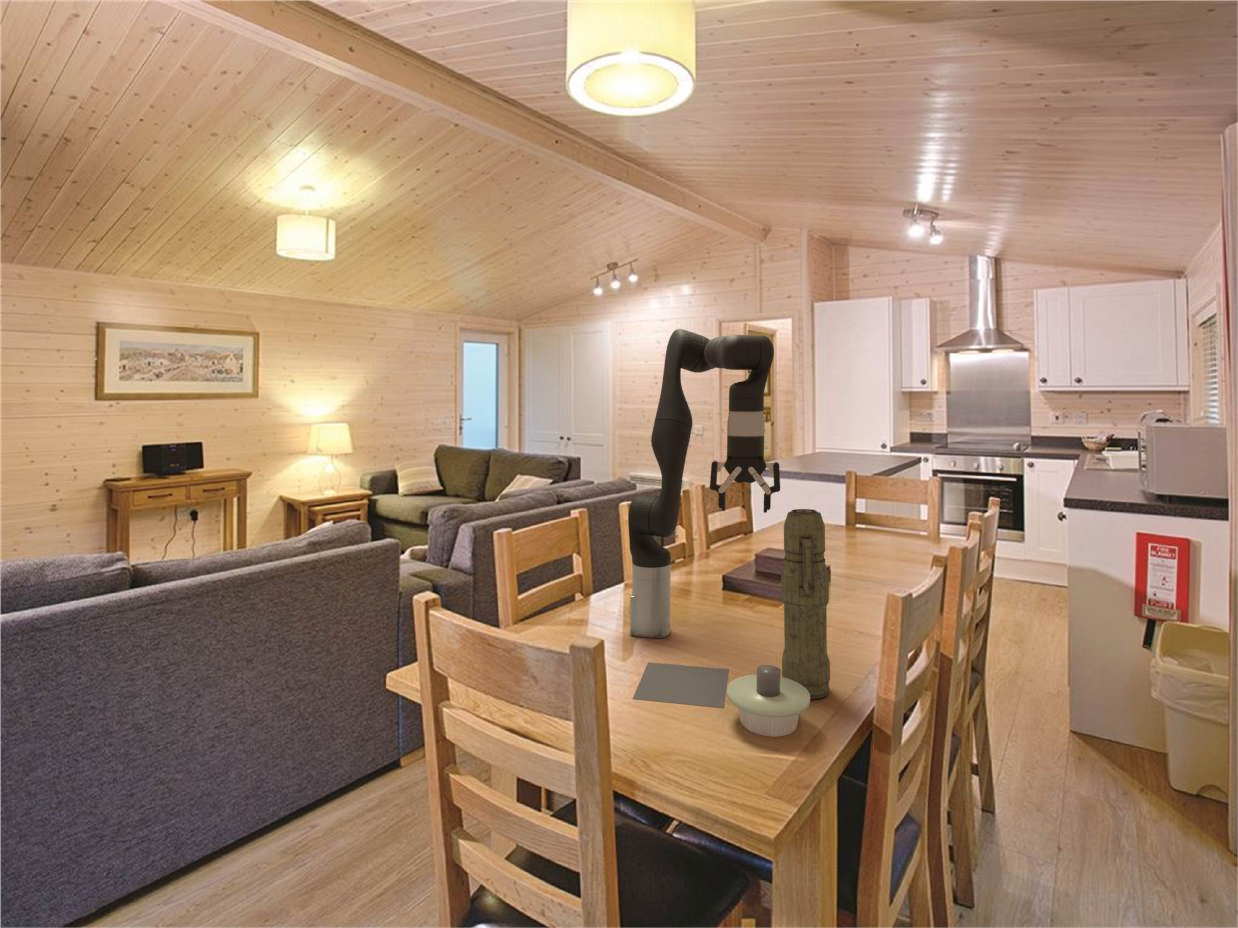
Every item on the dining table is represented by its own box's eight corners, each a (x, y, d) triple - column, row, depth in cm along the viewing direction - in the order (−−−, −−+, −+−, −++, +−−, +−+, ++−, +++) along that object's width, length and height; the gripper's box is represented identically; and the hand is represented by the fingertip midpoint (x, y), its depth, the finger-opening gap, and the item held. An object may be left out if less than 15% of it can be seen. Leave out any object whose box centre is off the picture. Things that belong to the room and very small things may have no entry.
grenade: (821, 677, 132) (819, 506, 130) (837, 702, 120) (835, 514, 118) (777, 677, 132) (775, 507, 130) (788, 702, 121) (786, 515, 119)
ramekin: (754, 703, 121) (755, 676, 121) (812, 723, 114) (812, 694, 114) (723, 727, 113) (724, 698, 112) (783, 750, 106) (784, 719, 105)
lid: (724, 712, 107) (725, 683, 107) (729, 676, 121) (729, 650, 121) (812, 721, 104) (813, 691, 104) (807, 683, 118) (808, 656, 117)
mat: (632, 701, 122) (632, 698, 122) (648, 664, 139) (648, 662, 139) (723, 710, 119) (723, 707, 118) (728, 671, 135) (728, 669, 135)
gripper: (709, 434, 131) (708, 513, 133) (781, 435, 128) (780, 515, 130) (712, 432, 139) (711, 507, 140) (780, 432, 136) (779, 509, 137)
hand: (744, 511), depth 135 cm, fingers open, 8 cm apart
